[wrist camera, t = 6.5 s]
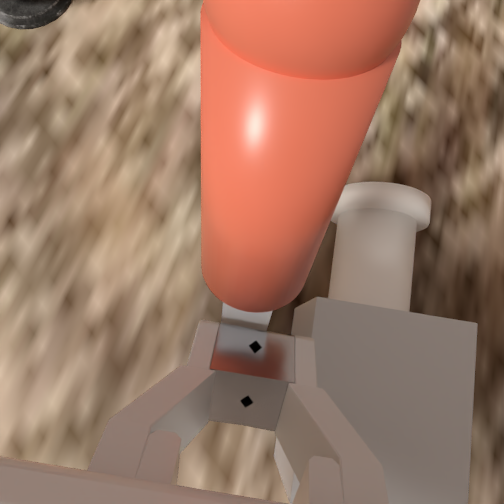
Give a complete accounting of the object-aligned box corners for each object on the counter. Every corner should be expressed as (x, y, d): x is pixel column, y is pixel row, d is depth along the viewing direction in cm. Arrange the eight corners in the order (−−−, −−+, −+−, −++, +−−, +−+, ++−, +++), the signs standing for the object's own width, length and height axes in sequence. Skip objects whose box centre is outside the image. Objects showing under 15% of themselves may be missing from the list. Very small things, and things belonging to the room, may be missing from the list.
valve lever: (255, 425, 18) (504, -81, 3) (195, 416, 18) (163, -139, 3) (263, 358, 20) (454, -187, 5) (208, 349, 20) (228, -227, 5)
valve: (388, 608, 19) (455, 727, 13) (226, 582, 19) (222, 689, 13) (420, 223, 23) (485, 183, 17) (284, 200, 23) (302, 152, 17)
